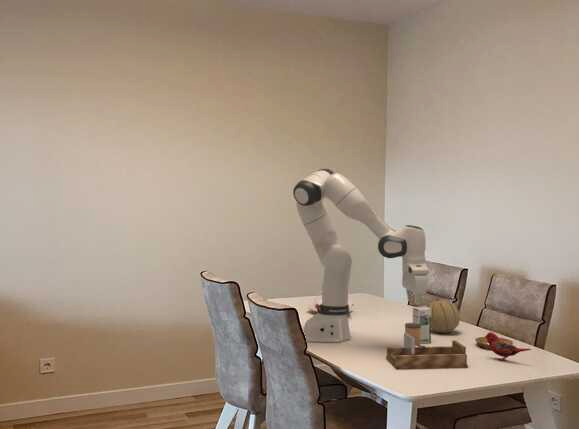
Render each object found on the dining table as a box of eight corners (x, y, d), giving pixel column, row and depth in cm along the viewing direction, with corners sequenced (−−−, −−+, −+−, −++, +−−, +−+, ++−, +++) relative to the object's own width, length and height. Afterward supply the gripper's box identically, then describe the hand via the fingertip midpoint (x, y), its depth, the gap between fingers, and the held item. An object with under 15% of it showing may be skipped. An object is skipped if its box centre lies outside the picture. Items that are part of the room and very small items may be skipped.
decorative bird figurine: (485, 356, 241) (485, 330, 240) (532, 365, 229) (533, 337, 229) (482, 358, 239) (482, 331, 238) (529, 366, 227) (530, 339, 227)
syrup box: (418, 343, 260) (419, 308, 259) (412, 340, 265) (412, 306, 265) (431, 343, 261) (431, 308, 261) (424, 339, 267) (425, 305, 266)
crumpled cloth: (342, 303, 341) (340, 287, 340) (370, 316, 308) (367, 297, 307) (301, 312, 334) (299, 296, 333) (325, 326, 301) (323, 307, 300)
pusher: (411, 363, 225) (411, 338, 225) (403, 357, 234) (404, 333, 234) (428, 363, 226) (429, 338, 225) (420, 356, 235) (420, 332, 235)
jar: (407, 354, 243) (407, 326, 243) (402, 350, 249) (402, 322, 249) (422, 353, 244) (423, 326, 243) (417, 349, 250) (418, 322, 250)
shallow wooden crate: (396, 369, 222) (397, 349, 222) (386, 358, 236) (386, 340, 236) (467, 367, 225) (468, 348, 225) (453, 357, 239) (453, 339, 239)
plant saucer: (488, 352, 247) (488, 346, 247) (467, 343, 261) (467, 337, 261) (520, 350, 251) (521, 344, 251) (498, 341, 266) (498, 335, 266)
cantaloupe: (458, 337, 271) (459, 303, 271) (423, 334, 276) (424, 300, 276) (460, 330, 285) (461, 297, 285) (427, 327, 290) (428, 295, 290)
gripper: (398, 264, 255) (398, 298, 255) (413, 270, 235) (413, 307, 235) (413, 263, 256) (413, 297, 256) (430, 270, 235) (430, 307, 236)
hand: (413, 302), depth 245 cm, fingers open, 8 cm apart
